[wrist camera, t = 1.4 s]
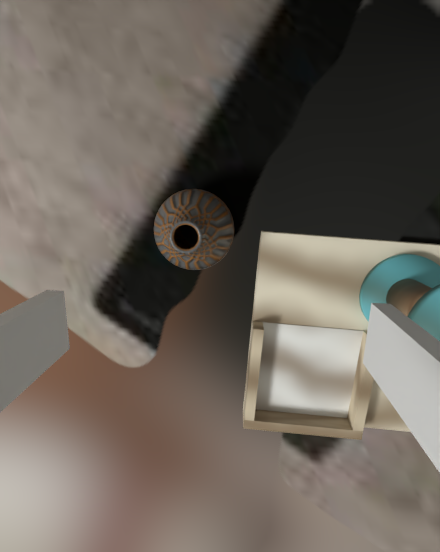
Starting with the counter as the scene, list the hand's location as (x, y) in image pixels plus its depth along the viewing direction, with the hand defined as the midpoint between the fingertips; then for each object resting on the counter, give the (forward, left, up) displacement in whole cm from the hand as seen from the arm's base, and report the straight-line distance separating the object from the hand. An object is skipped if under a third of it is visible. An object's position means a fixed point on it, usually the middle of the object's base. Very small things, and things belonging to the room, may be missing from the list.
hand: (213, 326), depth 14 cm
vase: (-2, -3, -19) cm, 20 cm away
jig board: (+8, +12, -19) cm, 24 cm away
